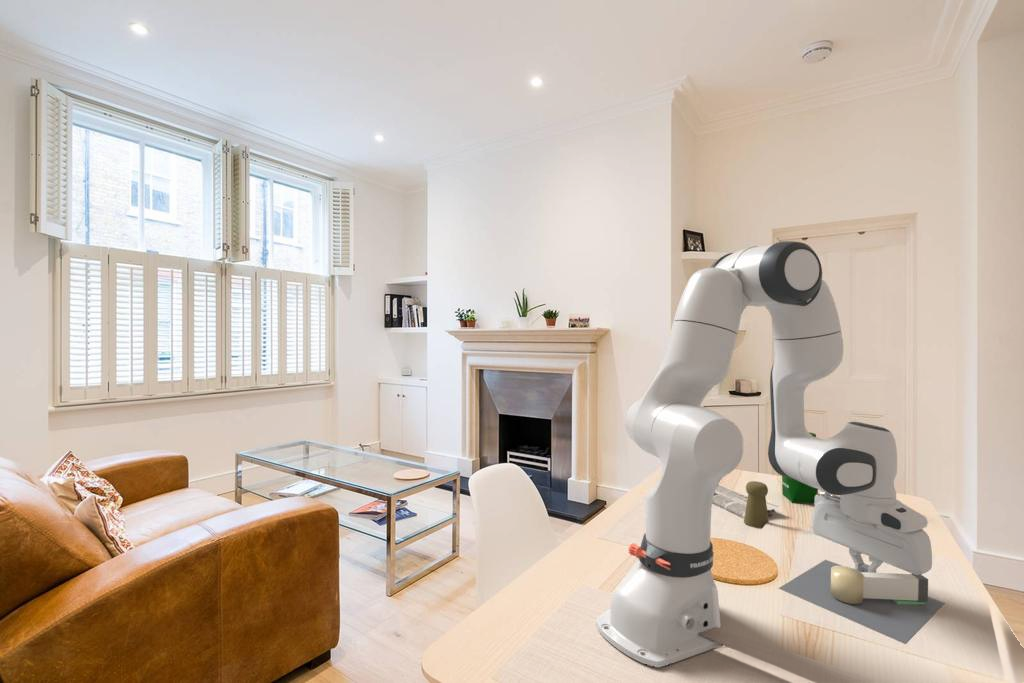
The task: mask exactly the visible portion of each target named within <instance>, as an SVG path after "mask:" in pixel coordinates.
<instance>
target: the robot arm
mask: <svg viewBox="0 0 1024 683" xmlns="http://www.w3.org/2000/svg"><path fill="white" fill-rule="evenodd" d="M748 306H749V307H765V309H766V310H767V311H768V312H769V314H770V317H771V327H772V336H773V344H774V362H773V364H772V367H771V369H770V374H769V375H770V376H769V379H770V380H769V390H770V391H769V392H770V393H769V394H770V395H769V396H770V398H769V399H770V416H771V418H770V419H771V421H770V423H771V430H770V431H771V432H770V438H769V443H768V448H767V457H768V462H769V464H770V466H771V467H772V469H773V470H774V471H775V472H776V473H777V474H778V475H780V476H781V477H782V476H784V477H787V478H790V479H794V480H797V481H800V482H802V483H804V484H806V485H808V486H811V487H813V488H816V489H818V491H819V490H820V491H821V492H818V494H817V495H816V496H815V503H814V508H813V514H812V517H811V518H812V520H811V530H812V531H813V533H814V534H815V535H817V536H819V537H821V538H823V539H826V540H829V541H831V542H833V543H836V544H839V545H841V546H843V547H846V548H848V549H849V550H848V553H849V555H850V557H851V559H852V561H853V563H854V569H855V570H857V571H859V572H870V573H877V569H878V568H879V567H880V566H881V565H882V564H883V563H885V564H888V565H890V566H893V567H894V568H895V567H896V568H897V569H900V570H902V571H905V572H907V573H908V574H914V575H923V574H926V573H928V572H929V571H931V570H932V568H933V552H932V544H931V543H932V542H931V539H930V537H929V535H928V533H927V532H926V531H925V530H924V529H926V528H927V526H928V518H927V517H926V516H925V515H923V514H921V513H920V512H918V511H916V510H915V509H913V508H911V507H910V506H908V505H906V504H904V503H903V502H902V501H900V500H898V499H897V490H896V489H895V480H896V477H897V474H898V473H897V472H898V453H897V451H898V450H897V443H896V438H895V436H894V434H893V433H892V432H893V431H890V430H889V429H887V428H886V427H885V428H884V427H883V426H882V427H881V426H879V425H874V424H868V423H866V422H865V423H864V422H860V421H850V422H846V423H845V427H844V428H843V429H842V430H840V431H839V432H838V433H836V434H835V435H832V436H831V437H828V438H825V439H823V438H821V437H820V438H819V437H818V436H816V437H814V436H812V435H811V434H810V433H811V432H810V431H808V429H807V428H806V425H805V399H804V398H805V397H804V396H805V391H806V388H807V387H808V386H809V385H810V384H811V383H813V382H816V381H819V380H822V379H824V378H826V377H828V376H830V375H831V374H833V373H834V371H835V370H836V369H838V368H839V366H840V365H841V363H842V361H843V357H844V339H843V335H842V334H843V333H842V328H841V323H840V322H841V321H840V318H839V317H840V316H839V313H838V310H837V309H838V308H837V305H836V303H835V299H834V297H833V294H832V292H831V290H830V287H829V285H828V283H827V282H826V281H825V280H823V267H822V264H821V260H820V258H819V256H818V254H817V253H816V251H814V249H813V248H812V247H811V246H810V245H808V244H806V243H804V242H800V241H793V240H792V241H791V240H790V241H784V240H783V241H779V242H776V243H772V244H765V245H754V246H750V247H747V248H743V249H740V250H738V251H734V252H729V253H727V254H725V255H723V256H721V257H720V258H718V259H716V261H715V262H713V263H712V264H711V266H709V267H707V268H702V269H699V270H697V271H695V272H694V273H693V274H692V275H691V276H690V278H689V279H688V281H687V283H686V285H685V287H684V289H683V292H682V294H681V297H680V299H679V302H678V305H677V308H676V311H675V314H674V318H673V321H672V323H671V324H672V325H671V329H670V333H669V337H668V340H667V344H666V346H665V351H664V355H663V357H662V361H661V363H660V365H659V368H658V370H657V372H656V374H655V376H654V378H653V379H652V381H651V382H650V385H649V386H648V388H647V389H646V391H645V392H644V394H643V395H642V397H640V398H639V399H638V400H636V401H635V402H634V403H633V404H631V406H630V407H629V408H628V410H627V411H626V415H625V418H624V419H625V422H624V424H625V425H624V426H625V430H626V433H627V435H628V436H629V438H630V439H631V440H632V441H633V442H634V444H636V445H637V446H638V447H639V448H640V449H641V450H643V451H644V452H646V453H648V454H650V455H652V456H654V457H656V458H659V459H660V461H661V470H660V475H659V479H658V481H657V484H654V485H653V486H651V487H650V489H649V490H648V492H647V493H646V496H645V533H644V534H643V536H642V540H641V543H640V546H639V545H638V544H636V543H634V542H633V543H631V544H630V545H629V547H628V553H629V554H630V555H631V556H634V557H635V558H637V561H636V562H635V563H634V564H633V566H632V567H631V568H630V569H629V570H628V572H627V573H626V575H625V576H624V577H623V579H622V580H621V581H620V582H619V583H618V585H617V586H616V587H615V588H614V590H613V592H612V595H611V602H610V608H608V609H607V610H605V611H604V612H603V613H602V614H600V615H599V616H598V617H597V618H596V623H595V625H596V627H597V630H598V632H599V633H600V635H601V636H602V637H603V638H604V639H605V640H606V641H607V642H609V643H610V645H612V647H615V648H616V649H617V650H619V651H620V652H621V653H623V654H624V655H626V656H628V657H630V658H631V659H633V660H635V661H637V662H639V663H642V664H643V665H644V664H645V665H646V664H647V666H650V667H653V666H654V668H663V667H665V665H666V666H668V664H669V665H671V664H674V663H677V662H681V661H682V660H685V659H689V658H691V657H694V656H697V655H699V654H702V653H705V652H707V651H710V650H714V649H716V648H718V647H721V646H724V644H723V643H721V642H719V641H716V640H714V639H712V638H709V637H706V636H703V635H702V634H700V633H703V632H706V631H709V630H711V629H713V628H717V629H718V628H721V625H722V624H721V614H720V604H719V602H720V601H719V594H718V592H719V591H718V588H717V585H716V583H715V580H714V576H713V572H712V568H713V566H714V555H715V554H714V547H713V546H714V545H713V543H712V541H711V527H712V526H711V524H712V507H713V504H712V501H713V497H714V493H715V490H716V488H717V486H718V484H720V482H721V480H723V478H724V477H726V476H727V475H729V474H731V473H732V472H733V471H734V470H736V468H737V467H738V466H739V464H740V463H741V460H742V457H743V455H744V449H745V443H744V437H743V434H742V432H741V430H740V428H739V427H738V426H737V425H736V423H734V422H733V421H731V420H729V419H728V418H726V417H725V416H723V415H722V414H720V413H719V412H716V411H714V410H712V409H708V408H705V407H701V405H702V403H703V401H704V399H705V398H706V396H707V395H708V393H709V392H710V391H711V390H712V389H713V388H714V387H716V386H717V385H719V384H720V383H723V381H725V379H726V378H727V376H728V373H729V370H730V366H731V362H732V358H733V357H732V356H733V354H734V353H733V352H734V350H735V347H736V346H735V345H736V341H737V336H738V334H739V330H740V324H741V319H742V314H743V312H744V310H745V309H746V308H747V307H748ZM809 432H810V433H809ZM862 555H866V556H868V561H869V562H871V563H870V565H869V564H866V563H865V562H864V560H863V557H862ZM670 663H671V664H670ZM662 666H663V667H662Z"/></svg>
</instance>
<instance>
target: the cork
mask: <svg viewBox="0 0 1024 683" xmlns="http://www.w3.org/2000/svg"><path fill="white" fill-rule="evenodd" d="M745 490H746V493H747V495H748V498H747V505H746V511H745V517H744V519H743V522H744V524H745V525H747V526H749V527H752V528H754V529H763V528H764V527H765V526H766V524H767V523H768V524H770V521H769V514H768V512H767V505H766V501H767V498H766V497H767V495H768V492H769V489H768V485H767V484H766V483H764V482H761V481H757V480H754V481H753V480H752V481H748V482H747V483H746V485H745Z"/></svg>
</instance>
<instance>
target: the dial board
mask: <svg viewBox="0 0 1024 683" xmlns="http://www.w3.org/2000/svg"><path fill="white" fill-rule="evenodd" d="M833 566H843V565H842V564H839V563H836V562H833V561H830V560H827V559H824V560H822V561H821V562H819V563H817V564H816V565H814V566H812V567H810V568H809V569H807V570H806V571H804V572H803V573H801V574H799V575H798V576H795V578H793V579H792V580H790V581H788V582H786V583H784V584H783V585H782V586H779V587H778V589H779V590H782V591H784V593H785V592H786V593H788V594H790V595H793V596H794V597H795V596H796V597H797V598H799V599H802V600H804V601H806V602H808V603H811V604H813V605H815V606H817V607H821V608H822V609H824V610H827V611H829V612H831V613H834V614H836V615H838V616H841V617H843V618H845V619H847V620H850V621H851V622H854V623H857V624H859V625H861V626H864V627H865V628H868V629H870V630H872V631H875V632H877V633H879V634H882V635H884V636H886V637H889V638H891V639H893V640H895V641H897V642H900V643H902V644H904V645H906V644H907V643H908V642H909V641H910V640H911V639H912V638H913V637H914V635H916V633H918V632H919V631H920V629H922V627H923V626H925V624H927V622H928V621H929V620H930V619H932V617H933V616H934V615H935V614H936V613H937V612H938V611H939V610H940V609H941V608H942V607H943V606H944V605H945V604H946V603H945V602H944V601H941V600H938V599H934V598H933V597H930V596H928V601H915V600H893V599H871V598H863V602H862V603H860V604H850V603H846V602H843V601H840V600H838V599H836V598H835V597H833V596H832V595H831V568H832V567H833Z"/></svg>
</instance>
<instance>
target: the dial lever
mask: <svg viewBox="0 0 1024 683" xmlns="http://www.w3.org/2000/svg"><path fill="white" fill-rule="evenodd" d="M831 595H832V596H833V597H835V598H836V599H838V600H840V601H843V602H846V603H850V604H860V603H862V602H863V598H871V599H893V600H915V601H928V597H929V579H928V578H927V577H925V576H924V575H923V574H921V575H914V574H912V573H891V572H890V573H887V572H876V573H870V572H859V571H857V570H855V568H852V567H849V566H846V565H845V566H844V565H842V566H833V567H832V568H831Z"/></svg>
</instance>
